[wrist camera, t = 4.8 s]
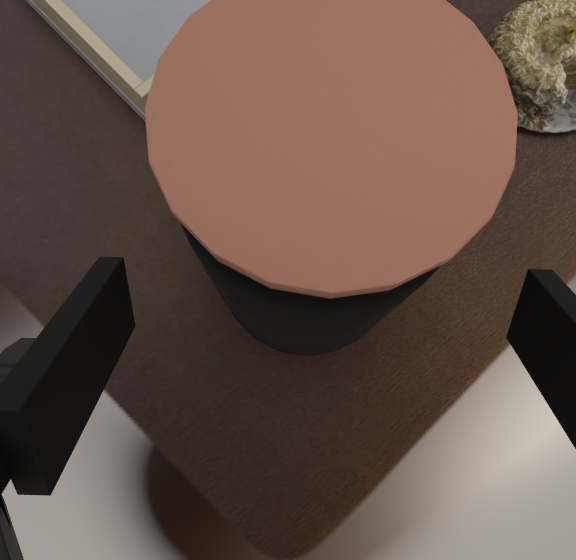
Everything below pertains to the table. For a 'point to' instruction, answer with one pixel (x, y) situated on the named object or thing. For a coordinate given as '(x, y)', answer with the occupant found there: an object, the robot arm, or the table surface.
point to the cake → (540, 63)
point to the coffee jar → (328, 155)
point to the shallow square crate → (119, 37)
